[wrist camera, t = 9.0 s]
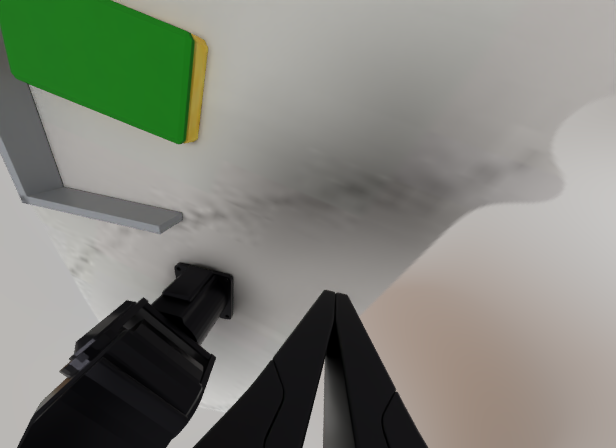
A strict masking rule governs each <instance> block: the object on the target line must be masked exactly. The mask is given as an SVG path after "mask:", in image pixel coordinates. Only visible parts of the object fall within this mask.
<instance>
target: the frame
mask: <svg viewBox="0 0 616 448" xmlns="http://www.w3.org/2000/svg"><path fill="white" fill-rule="evenodd" d="M0 154H1V156H2V158H3V160H4V163H5V165H6V167H7V169H8V171H9V174H10V175H11V178H12V180H13V182H14V185H15V187H16V189H17V191H18V194H19V195H20V198H21V200H22V202H23V203H26V204H31V205H35V206H40V207H44V208H48V209H53V210H57V211H61V212H66V213H70V214H75V215H79V216H83V217H88V218H92V219H96V220H101V221H105V222H110V223H114V224H118V225H123V226H127V227H131V228H136V229H140V230H145V231H149V232H153V233H158V234H161V233H163V232H164V231H166V230H167V229H169V228H171V227H172V226H174V225H175V224H177V223H179V222H180V221H182V220H183V219H182V213H181V212H176V211H172V210H167V209H163V208H158V207H153V206H149V205H144V204H140V203H135V202H131V201H126V200H121V199H117V198H112V197H108V196H103V195H98V194H94V193H89V192H85V191H80V190H76V189H71V188H66V187H63V184H62V181H61V178H60V175H59V172H58V169H57V167H56V164H55V161H54V158H53V155H52V152H51V149H50V147H49V144H48V141H47V138H46V135H45V132H44V129H43V127H42V124H41V121H40V118H39V115H38V112H37V109H36V106H35V104H34V101H33V98H32V95H31V92H30V89H29V86H28V84H27V83H25V82H23V81H20V80H18V79H16V78H15V77H14V75H13V74H12V73H11V70H10V66H9V62H8V57H7V53H6V49H5V44H4V40H3V36H2V31H1V27H0Z"/></svg>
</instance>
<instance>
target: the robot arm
mask: <svg viewBox="0 0 616 448" xmlns="http://www.w3.org/2000/svg"><path fill="white" fill-rule="evenodd" d="M175 275H176V279H175V280H174V281H173V282H172V283H171V284H170V285H169V286H168V287H167V288H166V289H165V290H164V291H163V292H162V295H161V296H160V297H159V298H158V299H156V300H155V301H154V302H153V303H152V304H151V305H150V304H149V303H148V300H146V299H145V298H144V297H143V298H142V299H141V300H140V301H138V302H137V303H136V302H132V301H128V300H127V301H125V302H124V303H123V304H122V305H121V306H119V307H118V308H117V309H116V310H115V311H113V312H112V313H111V314H110V315H108V316H107V317H106V318H105V319H104V320H102V321H101V322H100V323H99V324H97V325H96V326H95V327H94V328H92V329H91V330H90V331H89V332H88V333H86V334H85V335H84V336H83V337H82V338H80V339H79V340H78V341H77V342H76V345H75V351H74V355H72V356H71V357H70V358H69V360H71V361H70V362H69V363H68V364H67V365H66V366H65V367H63V368H62V369H61V370H60V373H62V374H63V375H65V376H66V377H67V378H66V379H65V380H64V381H63V382H62V383H61V384H60V385H59V386H58V387H57V388H55V389H54V390H53V391H52V392H51V393H50V394H49V395H48V396H47V397H46V398H45V399H44V400H43V401H42V402H41V403H40V405H39V406H38V408H37V410H36V412H35V413H34V415H33V417H32V419H31V420H30V423H29V425H28V427H27V429H26V431H25V433H24V435H23V437H22V439H21V441H20V443H19V445H18V447H17V448H166V447H167V445H168V444H169V443H170V441H171V440H172V439H173V438H174V437H176V436H177V435H178V434H179V433H180V432H181V431H182V429H183V428H184V427H185V426H186V425H187V423H188V422H189V420H190V419H191V417H192V416H193V414H194V413H195V411H196V409H197V407H198V405H199V403H200V401H201V399H202V396H203V393H204V390H205V387H206V385H207V382H208V379H209V376H210V373H211V371H212V368H213V365H214V362H215V360H216V357H215V356H214V355H213V354H210V353H208V352H207V351H206V350H205V349H204V348H202V347H201V346H200V345H201V344H202V342H203V341H204V339H205V338H206V336H207V334H208V333H209V331H210V330H211V328H212V327H213V325H214V324H215V322H216V321H217V319H218V318H219V317H220V318H224V319H231V317H232V316H233V278H232V276H231V275H229V274H225V273H221V272H216V271H212V270H208V269H204V268H200V267H195V266H191V265H187V264H183V263H178V264H177V265H175ZM324 360H325V377H324V428H323V448H428V446H427V445H426V443H425V441H424V440H423V438H422V436H421V435H420V433H419V431H418V429H417V428H416V426H415V424H414V422H413V420H412V418H411V417H410V415H409V413H408V411H407V409H406V407H405V406H404V404H403V402H402V400H401V398H400V396H399V394H398V392H395V391H396V388H395V386H394V384H393V382H392V380H391V378H390V377H389V375H388V373H387V371H386V369H385V367H384V365H383V363H382V361H381V359H380V357H379V355H378V353H377V351H376V349H375V347H374V345H373V344H372V342H371V339H370V338H369V336H368V334H367V332H366V330H365V328H364V326H363V324H362V322H361V320H360V318H359V316H358V314H357V312H356V310H355V308H354V306H353V305H352V303H351V301H350V299H349V297H348V295H346V294H342V293H336V294H335V292H333V291H329V290H324V291H323V292H322V294H321V295H320V296H319V298H318V299H317V300H316V301H315V303H314V304H313V305H312V307H311V308H310V309H309V311H308V312H307V313H306V315H305V316H304V317H303V319H302V320H301V321H300V323H299V324H298V325H297V327H296V328H295V329H294V331H293V332H292V333H291V335H290V336H289V337H288V339H287V340H286V341H285V343H284V344H283V345H282V347H281V348H280V349H279V351H278V352H277V353H276V355H275V356H274V357H273V360H271V361H270V362H269V364H268V365H267V366H266V368H265V369H264V370H263V371H262V373H261V374H260V375H259V376H258V378H257V379H256V380H255V381H254V383H253V384H252V385H251V386H250V387H249V389H248V390H247V391H246V392H245V393H244V394H243V395H242V396H241V397H240V399H239V400H238V401H237V402H236V403H235V404H234V405H233V406H232V407H231V408H230V409H229V410H228V411H227V412H226V413H225V415H224V416H223V417H222V418H221V419H220V420H219V421H218V422H217V423H216V424H215V425H214V426H213V427H212V428H211V429H210V430H209V431H208V432H207V433H206V434H205V435H204V436H203V438H202V439H201V440H200V441H199V442H198V443H197V444H196V445H195V446H194V447H193V448H302V447H303V443H304V440H305V435H306V432H307V428H308V424H309V420H310V416H311V412H312V408H313V404H314V400H315V396H316V392H317V388H318V384H319V380H320V376H321V372H322V368H323V364H324Z"/></svg>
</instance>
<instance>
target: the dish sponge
mask: <svg viewBox="0 0 616 448" xmlns="http://www.w3.org/2000/svg"><path fill="white" fill-rule="evenodd" d="M0 27H1V31H2V36H3V40H4V44H5V49H6V53H7V57H8V62H9V66H10V70H11V73H12V74H13V75H14V77H15V78H16V79H18V80H20V81H23V82H25V83H27V84H30V85H32V86H35V87H37V88H40V89H42V90H45V91H47V92H50V93H52V94H55V95H57V96H60V97H62V98H65V99H67V100H70V101H72V102H75V103H77V104H80V105H82V106H85V107H87V108H90V109H92V110H95V111H97V112H99V113H102V114H104V115H107V116H109V117H112V118H114V119H117V120H119V121H122V122H124V123H127V124H129V125H132V126H134V127H137V128H139V129H142V130H144V131H147V132H149V133H152V134H154V135H157V136H159V137H162V138H164V139H167V140H169V141H171V142H174V143H176V144H182V143H189V142H194V141H195V140H197V139H198V132H199V123H200V114H201V106H202V97H203V88H204V79H205V71H206V62H207V53H208V47H207V45H206V43H205V41H204V40H203V39H201V38H199V37H197V36H195V35H193V34H191V33H189V32H187V31H185V30H182V29H180V28H178V27H175V26H173V25H170V24H168V23H165V22H163V21H160V20H158V19H155V18H153V17H151V16H148V15H146V14H143V13H141V12H138V11H136V10H133V9H131V8H128V7H126V6H124V5H121V4H119V3H116V2H114V1H111V0H0Z"/></svg>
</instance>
